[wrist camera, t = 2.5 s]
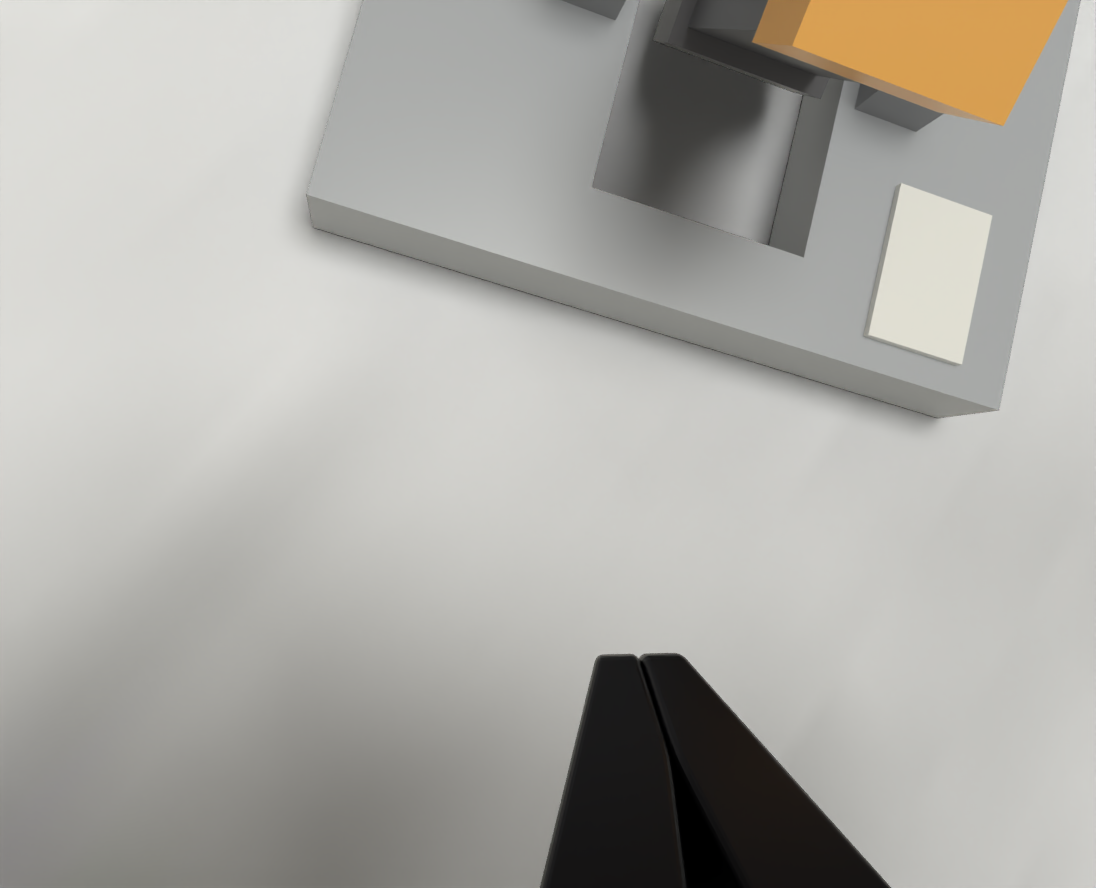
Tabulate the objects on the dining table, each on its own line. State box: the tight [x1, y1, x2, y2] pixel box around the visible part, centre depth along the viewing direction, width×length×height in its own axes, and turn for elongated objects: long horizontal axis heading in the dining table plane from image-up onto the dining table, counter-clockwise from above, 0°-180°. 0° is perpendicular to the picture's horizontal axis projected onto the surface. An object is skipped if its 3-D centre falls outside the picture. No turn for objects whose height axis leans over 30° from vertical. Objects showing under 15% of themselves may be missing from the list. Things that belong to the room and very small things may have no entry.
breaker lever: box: [653, 0, 1068, 126], centre depth 16 cm, size 2×4×10 cm
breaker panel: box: [306, 0, 1081, 418], centre depth 19 cm, size 14×16×5 cm
